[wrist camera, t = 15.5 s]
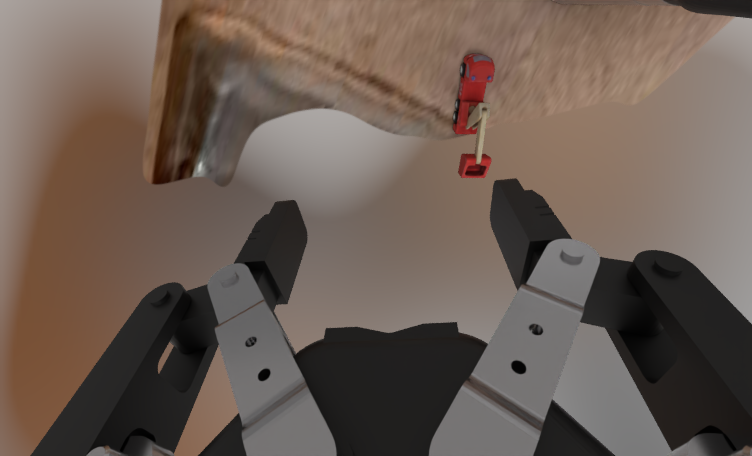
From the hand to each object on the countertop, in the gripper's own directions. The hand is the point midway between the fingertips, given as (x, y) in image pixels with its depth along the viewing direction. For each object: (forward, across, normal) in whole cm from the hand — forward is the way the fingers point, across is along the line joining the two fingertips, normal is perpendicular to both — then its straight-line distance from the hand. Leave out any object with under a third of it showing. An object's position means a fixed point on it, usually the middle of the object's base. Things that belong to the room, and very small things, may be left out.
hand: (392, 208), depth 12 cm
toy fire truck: (+35, -10, +8) cm, 38 cm away
